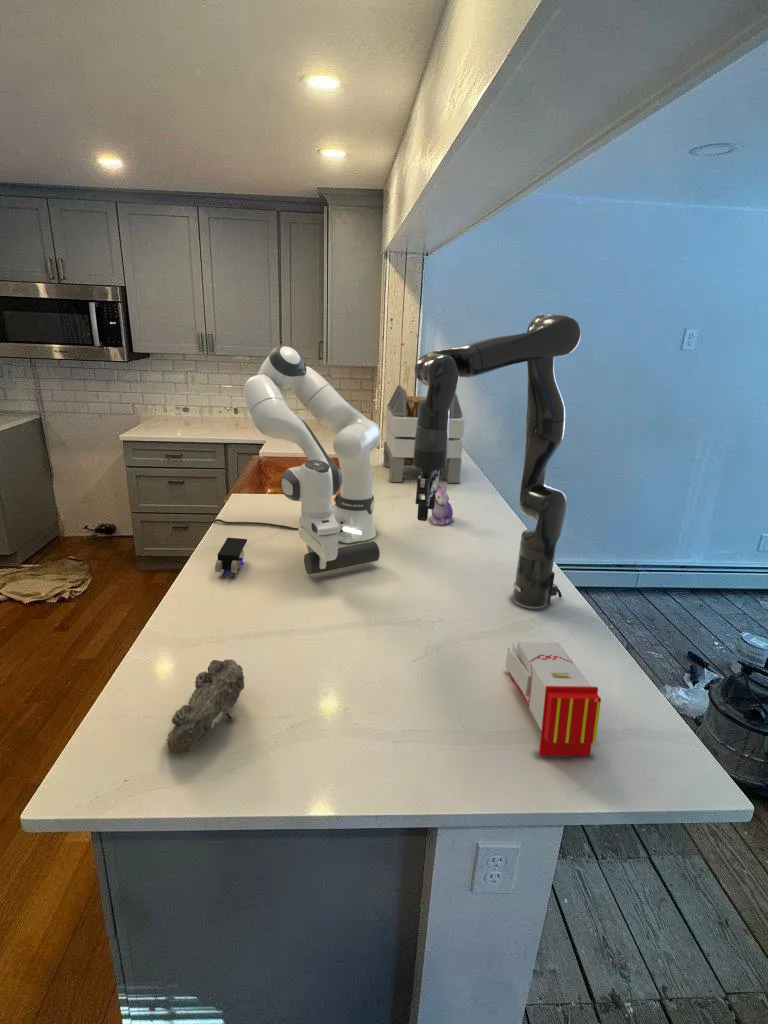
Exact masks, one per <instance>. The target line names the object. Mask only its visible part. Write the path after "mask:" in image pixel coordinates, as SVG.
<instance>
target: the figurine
mask: <svg viewBox="0 0 768 1024" xmlns="http://www.w3.org/2000/svg"><path fill="white" fill-rule="evenodd" d="M447 489H448V482H447V481H444V483H443V484H442V485H440V484H439V488H438V489H437V493H436V499H435V508H434V509H433V510H432V509H431V516H430V521H431V522H432V524H434V525H439V526H442V525H446V524H450V523H451V522H452V519H453V515H454V510H453V507H452V504H451V503H450V502H449V500H450V497H449V494H448V491H447Z"/></svg>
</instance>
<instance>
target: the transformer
mask: <svg viewBox="0 0 768 1024" xmlns="http://www.w3.org/2000/svg"><path fill="white" fill-rule="evenodd" d="M407 394H408V393H407V390H406V389H404V388H403V387H402V385H399V384H398V385H397V386H396V388H395V390H394V392H393V394H392V395H391V398H390V400H389V402H388V404H387V405H386V413H385V414H386V415H385V423H386V428H385V438H384V442H383V466H384V467H388V468H389V475H388V476H389V477H388V478H389V480H390V482H391V483H402V482H403V475H404V469H405V466H406V467H407V466H411V467H412V466H413V467H415V466H414V464H413V460H414V444H415V433H416V428H417V415H418V405H419V402H420V401H421V400H422V399H425V398H426V397H427V396H415V395H414V396H413V395H412V396H411V395H407ZM464 429H465V419H464V418H463V411H462V408H461V405H460V402H459V398H458V395H457V392H455V395H454V398H453V401H452V404H451V407H450V415H449V429H448V431H449V442H448V454H447V466H446V468H444V469H442V470H440V474H441V475H443V478H444V479H445V482H447V484H448V483H449V484H455V483H456V484H459V483H461V472H462V461H463V460H462V453H463V442H464V441H463V440H462V439H463V438H464V431H465V430H464Z"/></svg>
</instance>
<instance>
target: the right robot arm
mask: <svg viewBox="0 0 768 1024" xmlns="http://www.w3.org/2000/svg"><path fill="white" fill-rule="evenodd" d="M581 330H582V329H581V326H580V324H579V322H578V321H577V320H576V319H575V318H573V317H572V316H570V315H566V314H556V313H555V314H553V313H540V314H537V315H535V316H534V317H533V318H532V319H531V321H530V322H529V324H528V327H527V330H526V332H523V333H518V334H511V335H510V334H509V335H502V336H495V337H489V338H484V339H480V340H478V341H473V342H471V343H468V344H465V345H462V346H458V347H450V348H445V349H438V350H432V351H430V352H427V353H425V354H422V355H421V356H420V357H419V358H418V359H417V360H416V362H415V365H414V376H415V378H416V379H417V380H418V382H419V383H420V384H422V385H424V386H426V387H428V389H427V393H426V396H425V397H426V398H425V399H422V400H421V401H420V402H419V405H418V415H417V428H416V433H415V444H414V460H413V464H414V466H413V467H415V468H417V469H420V470H421V474H420V475H418V477H417V479H416V492H415V493H416V495H415V502H414V503H415V505H417V516H416V517H417V520H418V521H420V522H426V521H427V520H428V517H429V510H431V511H432V510H433V509H434V508H435V499H436V493H437V489H438V488H439V485H440V474H441V472H440V470H442V469H444V468H446V466H447V454H448V442H449V431H448V429H449V415H450V407H451V404H452V401H453V398H454V395H455V393H457V392H456V391H457V388H458V386H459V379H460V378H474V377H478V376H481V375H484V374H487V373H490V372H492V371H493V372H494V371H496V370H500V369H503V368H506V367H510V366H513V365H517V364H521V363H525V362H526V365H527V395H526V396H527V397H526V398H527V402H526V403H527V404H526V405H527V406H526V418H525V445H524V460H523V461H524V462H523V469H522V477H521V484H520V491H519V508H520V511H521V512H522V514H524V515H525V516H527V517H529V518H531V519H534V520H536V525H535V528H534V527H533V528H528V529H525V530H522V532H521V536H520V543H519V550H518V556H517V557H518V558H517V564H516V572H515V579H514V583H513V586H512V587H513V593H512V601H513V603H515V604H516V605H517V606H519V607H521V608H524V609H529V610H541V609H544V608H546V607H547V606H548V605H550V604H551V599H552V597H554V596H558V598H560V599H561V598H562V597H563V595H562V592H561V590H560V589H559V586H558V585H556V584H555V582H554V581H555V576H556V575H555V572H554V571H553V568H554V561H555V554H556V549H557V543H558V541H559V539H560V537H561V534H562V531H563V525H564V521H565V516H566V511H567V497H566V495H565V493H564V492H563V491H561V490H559V489H557V488H554V487H551V486H549V485H546V473H547V466H548V464H549V462H550V460H551V458H552V457H553V455H554V454H555V453H556V451H557V450H558V448H559V447H560V445H561V443H562V441H563V439H564V436H565V426H566V407H565V404H564V400H563V397H562V394H561V392H560V389H559V386H558V384H557V381H556V377H555V358H559V357H560V358H561V357H566V356H568V355H569V354H571V353H573V352H574V350H576V349H577V347H578V346H579V343H580V341H581V337H582V331H581ZM422 497H424V499H422Z"/></svg>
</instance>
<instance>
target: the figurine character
mask: <svg viewBox="0 0 768 1024" xmlns="http://www.w3.org/2000/svg"><path fill="white" fill-rule="evenodd" d="M247 542H248V538H240V537H226V539H225V541H224V543H223V544H222V546H221V547H220V549H219V551H218V552H217V560H216V562H215V564H214V572H215V573H221V577H222V578H224V577H225V576H226V574H227V573H230V574H231V573H232V574H231V578H234V577H235V575H236V573H237V572H239V571H240V567H242V566H243V565H244V564H245V562H244V558H245V551H244V547H245V546H246V544H247Z"/></svg>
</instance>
